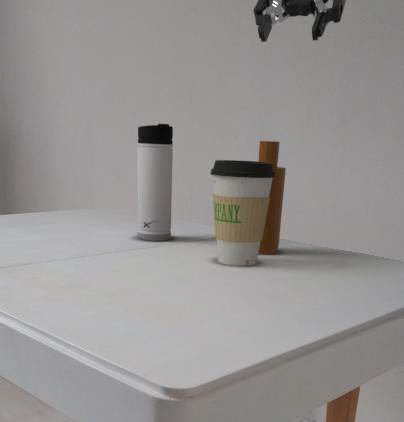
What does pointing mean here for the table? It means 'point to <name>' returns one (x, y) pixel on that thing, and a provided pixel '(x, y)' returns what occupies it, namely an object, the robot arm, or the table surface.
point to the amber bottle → (272, 198)
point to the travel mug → (155, 182)
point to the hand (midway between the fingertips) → (287, 36)
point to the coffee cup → (240, 208)
